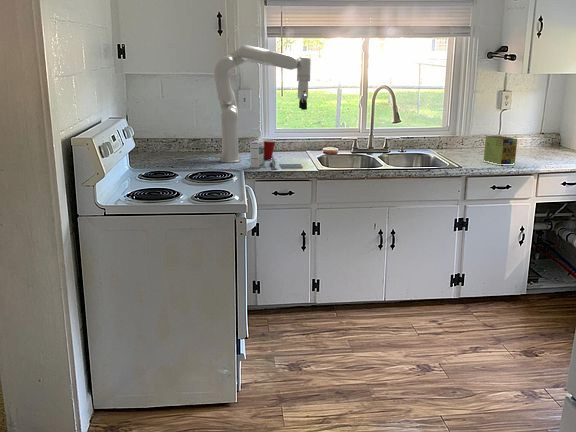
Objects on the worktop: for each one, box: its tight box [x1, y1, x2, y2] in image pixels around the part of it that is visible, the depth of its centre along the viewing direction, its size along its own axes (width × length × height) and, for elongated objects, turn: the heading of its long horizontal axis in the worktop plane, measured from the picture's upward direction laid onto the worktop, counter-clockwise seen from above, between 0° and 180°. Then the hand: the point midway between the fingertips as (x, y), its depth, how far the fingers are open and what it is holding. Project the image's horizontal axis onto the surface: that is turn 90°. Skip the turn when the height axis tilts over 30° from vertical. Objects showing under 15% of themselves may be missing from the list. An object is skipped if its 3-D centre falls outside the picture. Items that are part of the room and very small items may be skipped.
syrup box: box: [249, 140, 265, 169], centre depth 334 cm, size 6×6×14 cm
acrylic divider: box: [269, 154, 278, 171], centre depth 336 cm, size 3×20×5 cm, turn 5°
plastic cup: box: [258, 138, 277, 160], centre depth 359 cm, size 11×11×12 cm
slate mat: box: [279, 163, 304, 169], centre depth 338 cm, size 12×12×1 cm
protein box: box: [483, 135, 518, 164], centre depth 350 cm, size 10×15×16 cm
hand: (302, 108), depth 347 cm, fingers open, 9 cm apart
